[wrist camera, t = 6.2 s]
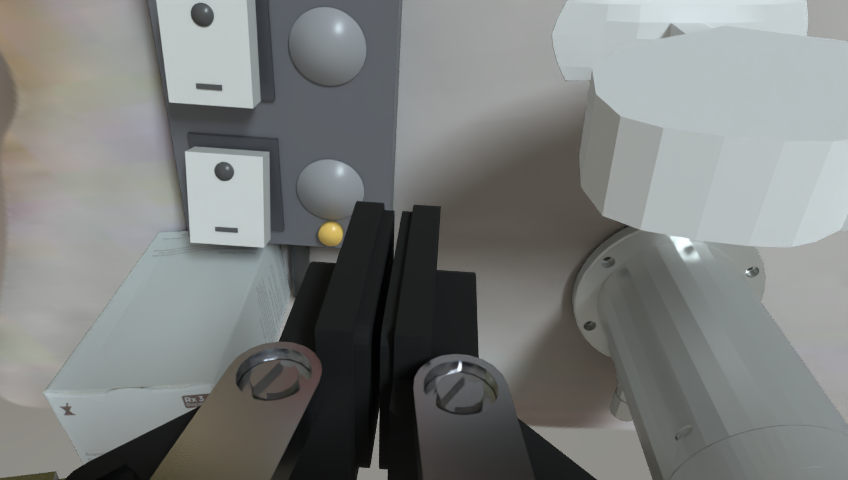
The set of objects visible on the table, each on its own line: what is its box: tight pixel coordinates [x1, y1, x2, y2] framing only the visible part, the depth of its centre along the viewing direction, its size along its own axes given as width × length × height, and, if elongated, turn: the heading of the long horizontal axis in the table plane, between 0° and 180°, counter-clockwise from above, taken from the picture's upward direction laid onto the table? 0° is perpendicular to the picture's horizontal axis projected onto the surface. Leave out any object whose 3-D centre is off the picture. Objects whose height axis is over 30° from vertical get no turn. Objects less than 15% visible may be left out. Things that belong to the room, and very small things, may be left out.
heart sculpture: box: [552, 0, 848, 247], centre depth 25 cm, size 16×5×18 cm, turn 90°
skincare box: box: [43, 231, 290, 465], centre depth 35 cm, size 8×6×15 cm
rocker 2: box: [185, 147, 271, 248], centre depth 33 cm, size 5×4×2 cm
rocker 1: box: [156, 0, 261, 108], centre depth 28 cm, size 5×4×2 cm
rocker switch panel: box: [148, 0, 402, 298], centre depth 33 cm, size 30×12×4 cm, turn 176°
